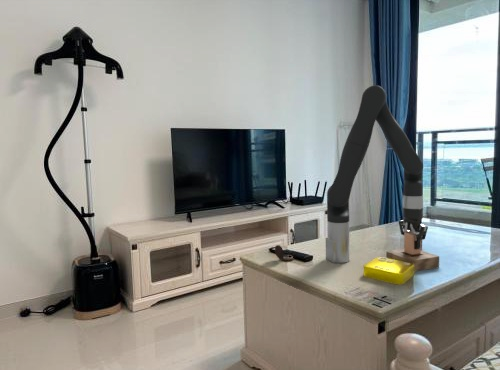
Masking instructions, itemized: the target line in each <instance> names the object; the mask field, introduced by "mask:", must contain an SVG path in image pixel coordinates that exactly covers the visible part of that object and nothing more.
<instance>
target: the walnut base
mask: <svg viewBox="0 0 500 370" xmlns="http://www.w3.org/2000/svg"><path fill="white" fill-rule="evenodd" d="M385 254H386V256H385V258H388V259H393V260H399V261H404V262H409V263H413V264H414V273H415V272H419V271H420V272H421V271H427V270H432V269H437V267H438V268H440V256H439V255H436V254H434V253H431V252H428V251H425V250H423V249H421V253H419V254H413V255H412V254H409V253H406V252H404V248H399V249H393V250H388V251H387V250H386V251H385ZM431 268H432V269H431Z"/></svg>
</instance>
